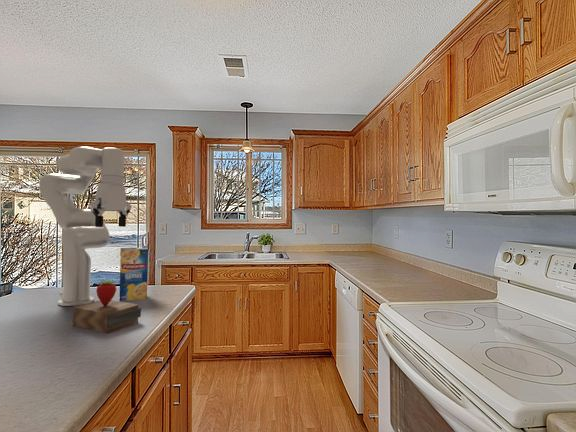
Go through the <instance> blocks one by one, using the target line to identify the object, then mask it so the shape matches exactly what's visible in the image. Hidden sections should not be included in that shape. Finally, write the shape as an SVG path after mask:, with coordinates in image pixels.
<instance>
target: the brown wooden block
mask: <svg viewBox="0 0 576 432" xmlns="http://www.w3.org/2000/svg"><path fill="white" fill-rule="evenodd" d="M141 308H142V307H139V304H137V303H130V302H124V301H119V300H113V299H112V300H111V301H110V302H109V303H108V305H107V306H104V305H103V304H102V302H101V301H100V300H98V301H93V302H91V303H88V304H83V305H76V306H73V307H72V326H74V327H78V328H83V329H87V330H92V331H95V332H101V333H104V334H109V333H111V332H114V331H117V330H120V329H122V328H125V327H128V326H131V325H134V324H136V323H139V318H141V316H142V309H141Z"/></svg>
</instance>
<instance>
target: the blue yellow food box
mask: <svg viewBox="0 0 576 432" xmlns="http://www.w3.org/2000/svg"><path fill="white" fill-rule="evenodd" d="M119 253H120V258H119V259H120V263H119V266H120V267H119V271H120V272H119V297H120V298H119V300H118V301H120V302H124V301H135V300H146V299H148V273H149V272H148V269H149V265H148V264H149V248H148V247H120V252H119Z"/></svg>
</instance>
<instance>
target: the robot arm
mask: <svg viewBox="0 0 576 432" xmlns="http://www.w3.org/2000/svg"><path fill="white" fill-rule="evenodd" d="M56 166H57V169H58V170H59V171H60V172H62V174H61V173H47V174H44V175H42V176H41V178H40V179H39V182H38V183H39V184H38V185H39V192H40V195H41V197H42V199H43V201H45V203H46V204H47V205H48V206H49V208H50V209H51V211H52V214H53V216H54V218H55V220H56V222H57V224H58V226H59V227H60V228H61V229H62V230H63V231H62V232H61V244H62V249H63V250H62V251H63V279H62V283H63V284H62V291H60V292H59V296H61V299H59V300H58V301H57V305H58V306H61V307H62V306H63V307H72V306H73V307H76V306H80V305H84V304H88V303H92V302H95V297H94V296H93V295H92V296H91V278H92V277H91V273H92V271H91V270H92V260H91V257H90V255H89V253H88V252H87V251H86V249H98V248H105V247H106V246H107V245H109V243H110V241H111V239H110V232H109V229H108V228H107V226H106V224H105V222H104V216H103V214H104V213H105V212H117V213H118V214H119V215H118V227H121V228H122V227H127V226H126V225H127V217H128V215H129V214H130V213H131V209H132V208H133V205H132V204H130V203H128V202H127V193H126V187H125V185H124V184H126V180H125V178H124V176H125V175H124V173H125V171H124V169H125V168H124V167H125V152H124V151H123V150H122V149H121V148H117V147H104V148H102V149H100V148H96V147H95V148H94V147H91V146H77V147H73V148H72V149H71V150H70V151H69V154H68V153H67V154H65V155H64V154H63V155H62V156H60V157H59V158H58V159H57V161H56ZM97 170H100V183H98V184H97V187H96V193H95V199H94V200H93V201H91V202H89V203H88V206H89V208H78V207H76V206H75V205H76V204H75V203H74V202H73V200H72V199H71V198H70V197H68V196H67V195H66V194H68V195H82V194H84V193H85V192H86V191H87V190H88V188H89V187H90V184H91V183H92V181H93V180H94V178H95V175H96V173H97Z"/></svg>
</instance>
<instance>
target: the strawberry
mask: <svg viewBox="0 0 576 432" xmlns="http://www.w3.org/2000/svg"><path fill="white" fill-rule="evenodd" d="M108 278H110V276H108ZM108 278H107V279H105V281H100V282H98V284H99V285H98V286H97V288H96V294H97V297H98V301H101V302H102V304H103V305H104V306H107V305H108V303H109V302H110V301H111V300H113V298H114V297H115V295H116V291H117V286H116V285H115V283H117V281H111V280H110V281H109V280H108Z"/></svg>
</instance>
